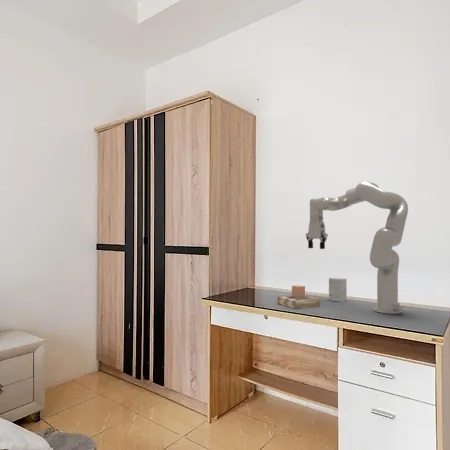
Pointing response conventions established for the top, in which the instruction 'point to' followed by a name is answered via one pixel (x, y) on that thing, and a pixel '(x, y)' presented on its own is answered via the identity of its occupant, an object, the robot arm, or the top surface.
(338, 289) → the small box
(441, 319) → the top surface
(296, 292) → the terracotta block
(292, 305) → the square wooden tray
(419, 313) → the top surface
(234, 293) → the top surface
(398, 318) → the top surface
